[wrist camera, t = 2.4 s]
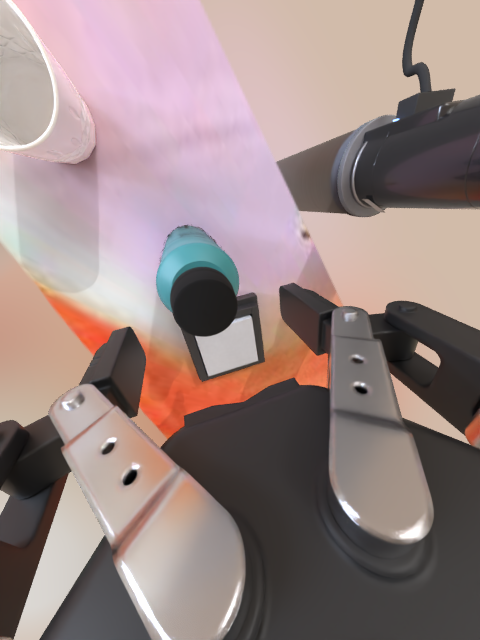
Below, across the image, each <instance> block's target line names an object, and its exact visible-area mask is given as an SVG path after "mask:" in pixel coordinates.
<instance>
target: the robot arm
mask: <svg viewBox="0 0 480 640" xmlns="http://www.w3.org/2000/svg"><path fill="white" fill-rule="evenodd" d="M423 3H424V0H415V5H414V8H413V12H412V16H411V20H410V23H409V27H408V31H407V35H406V40H405V44H404V50H403V60H402V66H403V73H404V75H405V76H407V77H410V76H413V75H415V74H417V75H418V77H419V81H420V90H421V93H418V94H416V95H413V96H411V97H409V98H407V99H404V100H402V101H400V102H399V104H398V110H397V116H396V119H395V120H393V122H391V123H388V124H386V125H383V126H380V127H377V128H375V129H372V130H369V131H367V132H365V135H364V141H363V144H362V145H361V147H360V148H359V150H358V152H357V154H356V156H355V159H354V161H353V164H352V168H351V173H350V190H351V194H352V197H353V199H354V200H355V202H356V203H357V204H358V205H360V206H362V207H365V208H374V209H376V210H377V211H378V212H384V211H383V210H382V209H380V208H436V209H439V208H440V209H480V95H478V96H475V97H472V98H469V99H467V100H460V101H454V102H452V100H453V96H454V92H455V89H447V90H439V91H431V82H430V73H429V69H428V67H427V65H426V64H424V63H422V62H421V63H417V64H415V65H412V56H411V55H412V46H413V40H414V35H415V32H416V28H417V24H418V20H419V17H420V13H421V10H422V6H423ZM279 294H280V310H281V316H282V318H283V320H284V322H285V323H286V324H287V325H288V326H289V327H290V328H291V329H292V330H293V331H294V332H295V333H296V334H297V335H298V336H299V337H300V338H301V339H302V340H303V341H304V342H305V343H306V345H307V346H308V347H309V348H310V349H311V350H312V351H313V352H314V353H315V354H316V355H317V356H318V355H321V354H324V353H327V354H328V369H327V388H325V387H321V386H314V385H299V384H298V383H297V381H296V380H295V378H291V379H289V380H286V381H283V382H280V383H277V384H274V385H271V386H269V387H267V388H265V389H264V390H262V391H261V392H259V393H258V394H256V395H254V396H253V397H251V398H250V399H248V400H246V401H245V402H241V403H233V404H224V405H216V406H211V407H208V408H205V409H202V410H200V411H197V412H194V413H191V414H188V415H185V416H184V422H185V426H184V427H182V428H181V429H179V430H178V431H177V432H176V433H174V434H173V435H172V436H171V437H170V438H169V439H168V440H167V441H166V442H165V443H164V444H163V445H162V446H161V448H159V447H158V446H157V445H156V444H155V443H154V442H153V441H152V440H151V439H150V438H149V437H148V436H147V435H146V434H145V433H144V432H143V431H142V430H141V429H140V428H139V427H138V426H137V425H136V424H135V423H134V422H133V421H132V420H131V419H130V418H132V417H135V416H137V414H138V408H139V402H140V396H141V390H142V384H143V378H144V372H145V366H146V356H145V353H144V350H143V348H142V346H141V344H140V343H139V341H138V339H137V337H136V335H135V333H134V331H133V329H132V328H131V327H126V328H122V329H119V330H115V331H113V332H112V334H111V336H110V338H109V340H108V342H107V343H104V344H103V345H102V346H101V347H100V348H99V349H98V350H97V351H96V353H95V355H94V357H93V360H92V361H91V363H90V366H89V367H88V369H87V371H86V372H85V374H84V376H83V378H82V380H81V382H80V384H79V386H77V387H74V388H72V389H70V390H68V391H67V392H65V393H64V394H62V395H61V396H60V397H59V398H58V399H57V400H56V401H55V402H54V403H53V404H52V405H51V407H50V409H49V413H48V414H49V415H47V416H45V417H43V418H41V419H39V420H37V421H35V422H34V423H32V424H30V425H28V426H26V427H22V426H21V425H20V424H19V423H18V422H16V421H14V420H9V421H5V422H2V423H0V490H1V491H3V492H5V493H7V494H9V495H10V497H9V499H8V501H7V503H6V505H5V507H4V509H3V511H2V513H1V515H0V640H13V639H14V636H15V633H16V630H17V627H18V624H19V621H20V618H21V615H22V612H23V609H24V606H25V603H26V600H27V597H28V594H29V591H30V588H31V585H32V582H33V579H34V576H35V573H36V570H37V567H38V564H39V561H40V558H41V555H42V552H43V549H44V546H45V543H46V539H47V537H48V534H49V531H50V528H51V524H52V522H53V519H54V516H55V513H56V510H57V507H58V504H59V501H60V498H61V495H62V492H63V489H64V486H65V483H66V480H67V477H68V474H69V473H70V472H71V471H72V472H73V474H74V476H75V478H76V480H77V482H78V484H79V486H80V488H81V489H82V492H83V493H84V495H85V497H86V499H87V501H88V503H89V505H90V507H91V508H92V511H93V512H94V514H95V516H96V518H97V520H98V522H99V524H100V526H101V528H102V529H103V532H104V533H105V536H104V537H103V539H102V540H101V542H100V543H99V545H98V547H97V548H96V550H95V551H94V553H93V555H92V556H91V558H90V560H89V561H88V563H87V564H86V566H85V568H84V569H83V571H82V572H81V574H80V576H79V577H78V579H77V580H76V582H75V584H74V585H73V587H72V588H71V590H70V592H69V594H68V595H67V596H66V598H65V599H64V601H63V603H62V604H61V606H60V607H59V609H58V611H57V612H56V614H55V615H54V617H53V619H52V620H51V622H50V624H49V625H48V627H47V628H46V630H45V631H44V633H43V635H42V636H41V638H40V640H480V330H478V329H475V328H473V327H470V326H468V325H466V324H464V323H462V322H459V321H457V320H455V319H453V318H450V317H448V316H446V315H443V314H441V313H439V312H437V311H434V310H432V309H430V308H428V307H425V306H423V305H421V304H418V303H414V302H409V301H394V302H391V303H389V304H388V305H387V306H386V310H385V313H383V314H372V315H368V313H367V312H366V311H365V310H363V309H361V308H357V307H352V306H343V307H338V306H336V305H335V304H333V303H332V302H330V301H328V300H327V299H324V298H323V297H322V296H319V294H317V293H315V292H314V291H311V290H307V289H303V288H301V287H300V286H298V285H296V284H295V283H291V284H287V285H284V286H281V287H280V289H279ZM418 341H419V342H420V343H422V344H424V345H426V346H427V347H429V348H430V349H432V350H434V351H435V352H436V353H437V354H438V356H439V357H440V360H441V363H440V366H439V368H438V367H437V366H435V365H434V364H432V363H431V362H429V361H427V360H426V359H424V358H423V357H422V356H420V355H418V354H417V353H416V352H415V349H416V346H417V343H418ZM390 373H391V374H392V375H394V376H395V377H396V378H397V379H398V380H400V381H401V382H402V383H403V384H404V385H405V386H407V387H408V388H409V389H410V390H412V391H413V392H414V393H415V394H416V395H417V396H419V397H420V398H421V399H422V400H423V401H424V402H426V403H427V404H428V405H429V406H430V407H432V408H433V409H434V410H435V411H436V412H437V413H439V414H440V415H441V416H442V417H443V418H445V419H446V420H447V421H448V422H449V423H451V424H452V425H453V426H454V427H455V428H457V429H458V430H459V431H460V432H461V433H462V434H464V435H465V436H466V438H467V440H468V442H469V443H470V445H469V444H467V443H464V442H462V441H459V440H457V439H454V438H452V437H449V436H447V435H444V434H442V433H439V432H437V431H434V430H431V429H429V428H427V427H424V426H422V425H419V424H417V423H414V422H412V421H409V420H407V419H404V418H402V416H401V412H400V409H399V405H398V401H397V397H396V394H395V390H394V386H393V382H392V379H391V376H390Z"/></svg>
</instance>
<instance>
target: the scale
mask: <svg viewBox="0 0 480 640" xmlns="http://www.w3.org/2000/svg"><path fill="white" fill-rule="evenodd" d="M237 303H238V309H237V314H236V317H235V318H238V317H242V316H245V315H249V314H250V316H251V317H252V322H253V329H254V335H255V342H256V349H257V356H258V361H256V362H253V363H249V364H246V365H243V366H240V367H237V368H234V369H231V370H227V371H224V372H221V373H218V374H215V375H212V376H208V373H207V370H206V367H205V364H204V361H203V358H202V355H201V352H200V349H199V346H198V343H197V340H196V337H195V336H194V335H191V334H189V333H187V332H185V331H184V330H183V329H182V328H181V330H182V332H183V335H184V338H185V341H186V343H187V346H188V349H189V352H190V354H191V357H192V360H193V362H194V365H195V368H196V371H197V373H198V376H199V379H200V380H202V382H203V381H206V380H208V379H212V378H215V377H218V376H222V375H225V374H228V373H231V372H234V371H237V370H240V369H243V368H246V367H250V366H253V365H256V364H259V363H262V362H265V358H264V350H263V342H262V334H261V326H260V318H259V309H258V303H257V296H256V294H255V293H250V294H246V295H243V296H239V297H237Z"/></svg>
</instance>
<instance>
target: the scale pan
mask: <svg viewBox="0 0 480 640" xmlns="http://www.w3.org/2000/svg"><path fill="white" fill-rule="evenodd" d="M195 337H196V340H197V343H198V346H199V349H200V352H201V355H202V358H203V361H204V364H205V367H206V370H207V373H208V376H212V375H215V374H218V373H221V372H224V371H227V370H231V369H234V368H237V367H240V366H243V365H246V364H249V363H253V362H256V361H258V356H257V349H256V342H255V335H254V329H253V322H252V317H251V316H250V314H249V315H245V316H242V317H238V318H235V319H234V321H233V322H232V323H231V325H230V326H229V327H228V328H227V329H225V330H224V331H222V332H221V333H219V334H216V335H213V336H208V337H200V336H195Z"/></svg>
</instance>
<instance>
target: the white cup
mask: <svg viewBox="0 0 480 640" xmlns="http://www.w3.org/2000/svg"><path fill="white" fill-rule="evenodd" d="M95 145H96V131H95V124H94V121H93V119H92V116H91V114H90V111H89V109H88V106H87V105H86V103H85V102H84V101H83V99H82V98H81V97H80V95H79V93H78V91H77V90H76V88H75V86H74V85H73V83H72V82H71V80H70V79H69V78H68V76H67V75H66V73H65V72H64V70H63V69H62V67H61V66H60V64H59V63H58V61H57V60H56V59H55V57H54V56H53V55H52V53H51V52H50V51H49V49H48V48H47V47H46V45H45V44H44V43H43V41H42V40H41V38H40V37H39V36H38V34H37V33H36V32H35V30H34V29H33V27H32V26H31V25H30V23H29V22H28V20H27V19H26V18H25V16H24V15H23V14H22V12H21V11H20V10H19V9H18V7H17V6H16V5H15V4H14V3H13V1H12V0H0V150H1V151H6V152H10V153H14V154H18V155H23V156H27V157H31V158H35V159H40V160H45V161H51V162H59V163H70V164H77V163H79V162H81V161H83V160H85V159H87V158H89V156H90V154H91V152H92V151H93V149H94V147H95Z"/></svg>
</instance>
